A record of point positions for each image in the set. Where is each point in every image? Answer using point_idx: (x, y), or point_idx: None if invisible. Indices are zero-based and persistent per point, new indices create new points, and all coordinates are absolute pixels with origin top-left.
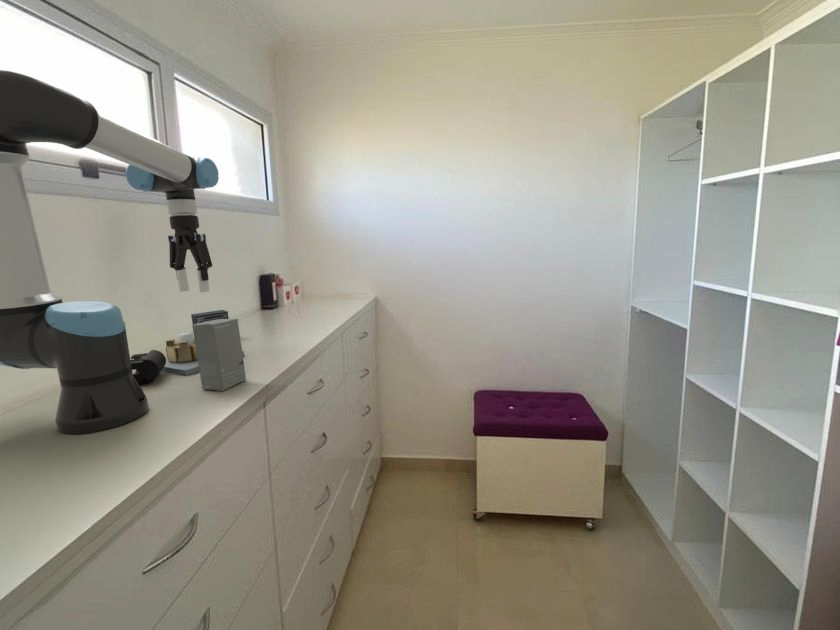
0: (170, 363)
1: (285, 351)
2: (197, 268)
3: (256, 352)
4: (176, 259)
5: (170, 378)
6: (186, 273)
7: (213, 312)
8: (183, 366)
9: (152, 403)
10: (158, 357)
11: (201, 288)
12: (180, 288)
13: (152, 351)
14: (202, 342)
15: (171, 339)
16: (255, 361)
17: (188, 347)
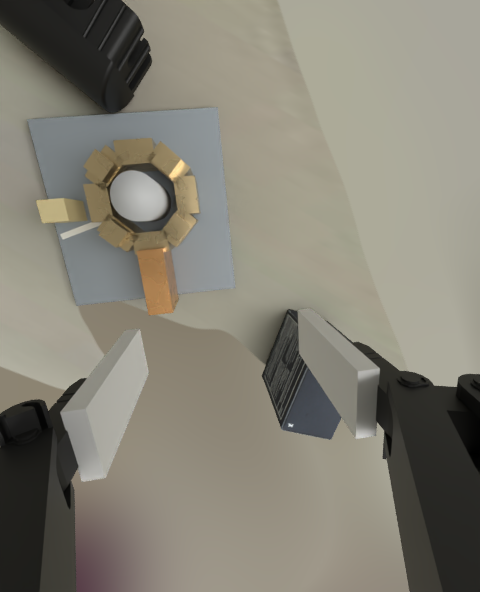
0: None
1: (29, 370)
2: (23, 411)
3: (89, 335)
4: (443, 458)
5: (52, 90)
6: (340, 414)
7: (306, 398)
8: (73, 140)
9: None
10: (47, 49)
11: (119, 341)
12: (304, 315)
13: (86, 50)
14: None
15: (173, 168)
16: (7, 284)
17: (87, 172)
